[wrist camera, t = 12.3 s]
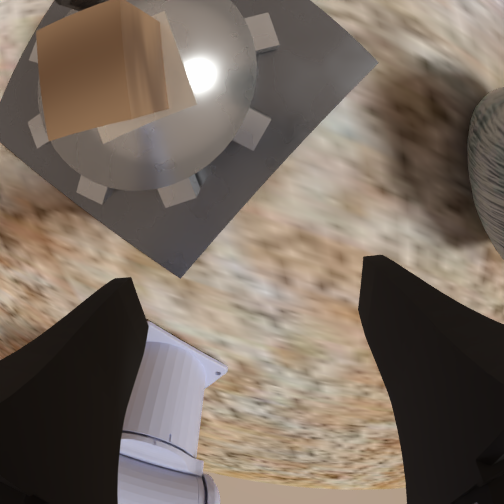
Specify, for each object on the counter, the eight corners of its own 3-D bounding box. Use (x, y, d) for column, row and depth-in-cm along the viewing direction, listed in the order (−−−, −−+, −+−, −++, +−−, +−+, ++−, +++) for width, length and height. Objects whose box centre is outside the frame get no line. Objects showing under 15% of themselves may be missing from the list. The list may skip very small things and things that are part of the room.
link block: (169, 108, 13) (131, 119, 9) (103, 122, 14) (48, 141, 9) (159, 22, 11) (119, -4, 7) (94, 40, 11) (36, 31, 7)
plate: (181, 275, 21) (180, 279, 20) (-8, 131, 15) (-12, 132, 15) (376, 63, 14) (379, 62, 14) (138, -90, 9) (136, -93, 8)
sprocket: (309, 157, 16) (334, 188, 12) (88, 229, 18) (45, 276, 14) (232, -67, 10) (224, -118, 5) (18, 39, 12) (-42, 39, 7)
